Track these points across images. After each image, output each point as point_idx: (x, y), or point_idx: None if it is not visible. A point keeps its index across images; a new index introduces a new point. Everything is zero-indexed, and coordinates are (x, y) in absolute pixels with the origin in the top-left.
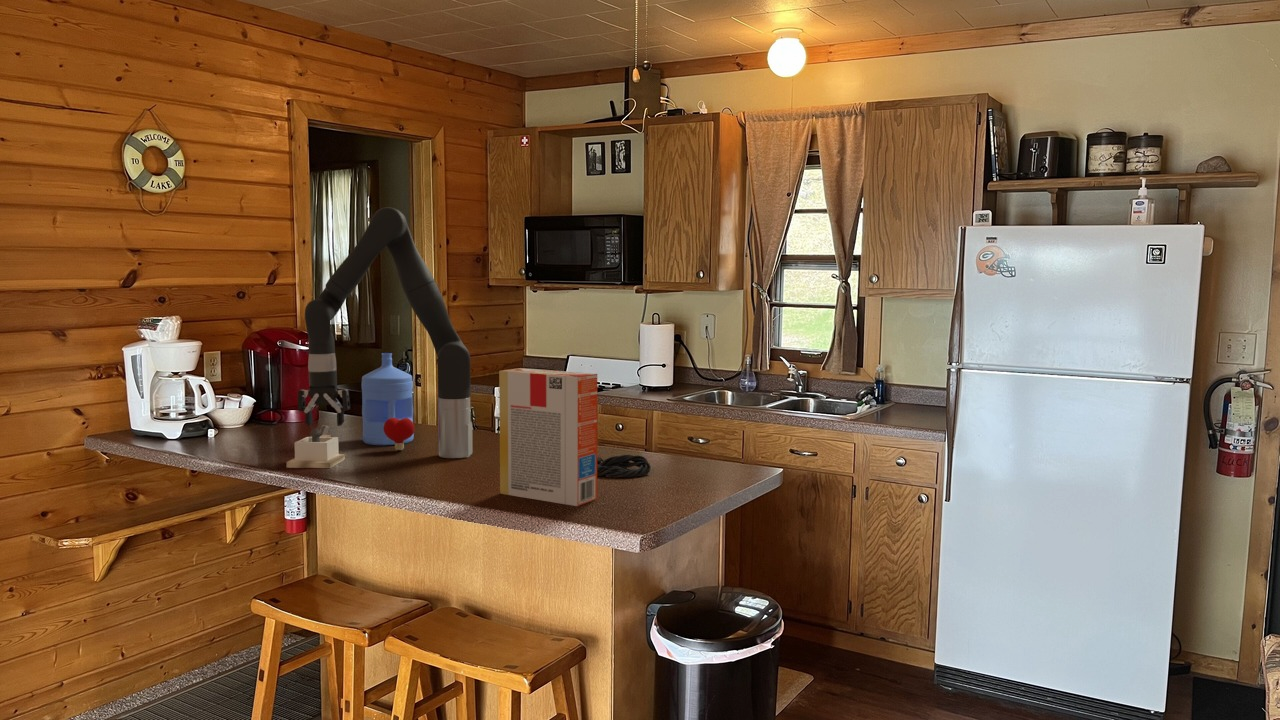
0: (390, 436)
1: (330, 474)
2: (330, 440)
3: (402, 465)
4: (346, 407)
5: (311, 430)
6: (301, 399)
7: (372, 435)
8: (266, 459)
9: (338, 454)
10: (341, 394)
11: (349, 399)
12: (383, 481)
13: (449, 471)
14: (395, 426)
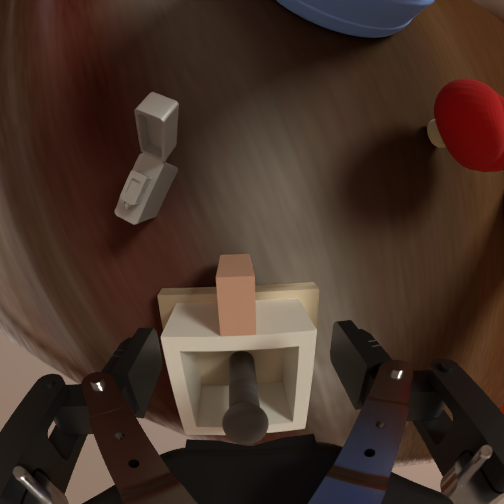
0: (457, 159)
1: (321, 434)
2: (304, 395)
3: (455, 327)
4: (434, 420)
5: (229, 438)
6: (62, 486)
7: (327, 10)
8: (65, 299)
9: (298, 299)
10: (455, 492)
11: (491, 402)
12: (413, 435)
13: (498, 348)
14: (495, 161)
